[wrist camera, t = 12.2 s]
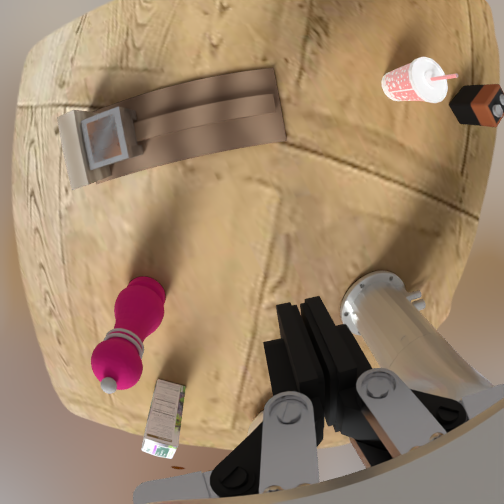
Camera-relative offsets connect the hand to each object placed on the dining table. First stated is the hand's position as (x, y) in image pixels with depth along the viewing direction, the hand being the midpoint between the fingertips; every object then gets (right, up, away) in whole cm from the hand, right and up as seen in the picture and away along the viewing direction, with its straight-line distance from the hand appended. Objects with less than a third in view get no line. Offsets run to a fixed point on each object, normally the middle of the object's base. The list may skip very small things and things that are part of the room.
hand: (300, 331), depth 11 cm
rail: (-11, +20, +23) cm, 32 cm away
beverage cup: (+19, +27, +22) cm, 40 cm away
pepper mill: (-18, -3, +31) cm, 36 cm away
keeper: (-19, +18, +21) cm, 33 cm away
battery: (+34, +28, +23) cm, 50 cm away
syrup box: (-18, -24, +40) cm, 50 cm away
